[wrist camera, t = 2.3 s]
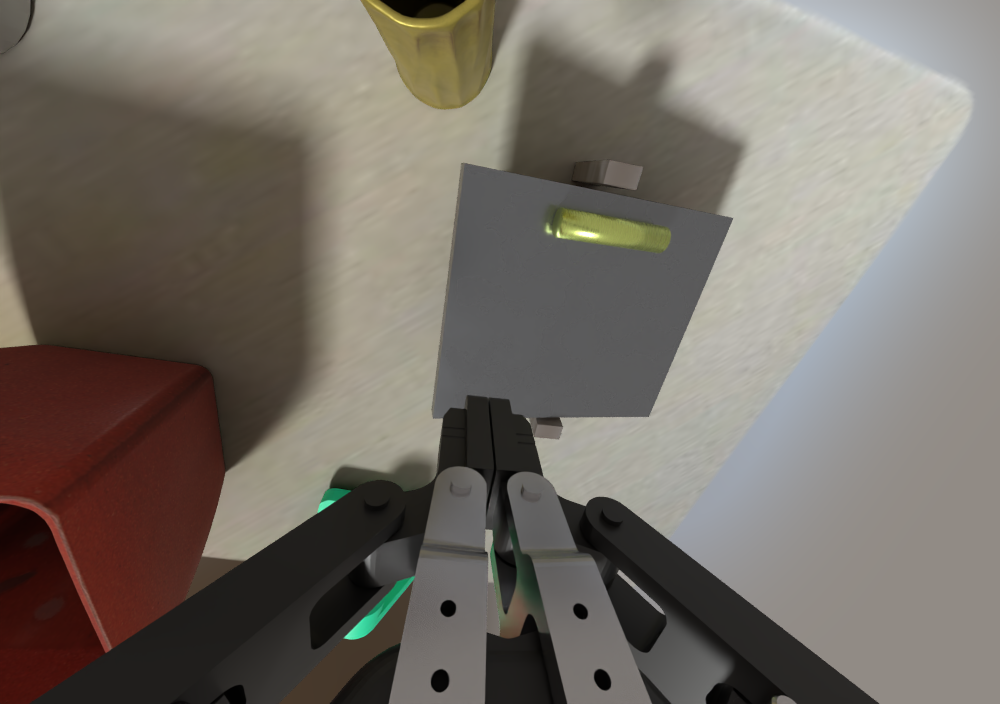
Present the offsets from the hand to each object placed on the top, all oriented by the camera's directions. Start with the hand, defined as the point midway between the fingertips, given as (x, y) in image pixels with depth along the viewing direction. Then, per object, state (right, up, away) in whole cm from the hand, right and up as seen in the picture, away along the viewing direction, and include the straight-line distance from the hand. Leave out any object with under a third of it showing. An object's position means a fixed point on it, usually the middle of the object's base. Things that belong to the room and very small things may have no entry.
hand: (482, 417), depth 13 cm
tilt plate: (+6, +5, +12) cm, 14 cm away
